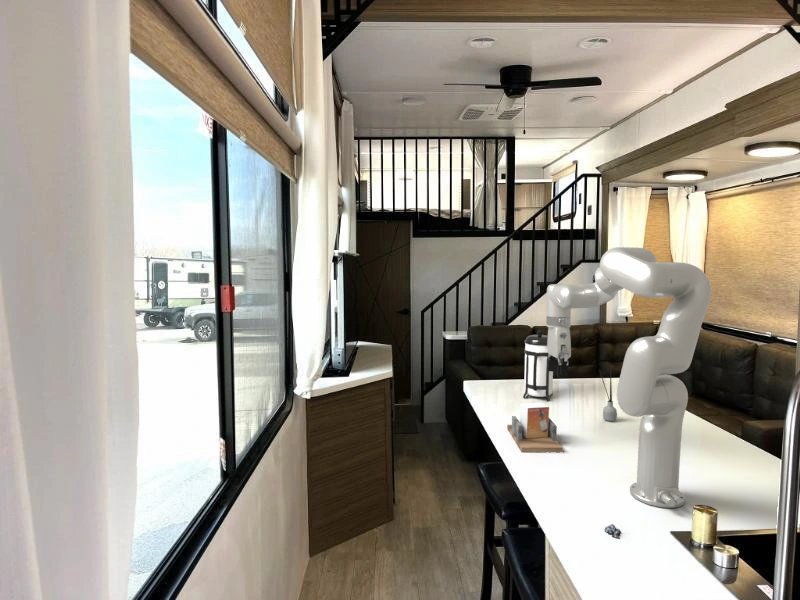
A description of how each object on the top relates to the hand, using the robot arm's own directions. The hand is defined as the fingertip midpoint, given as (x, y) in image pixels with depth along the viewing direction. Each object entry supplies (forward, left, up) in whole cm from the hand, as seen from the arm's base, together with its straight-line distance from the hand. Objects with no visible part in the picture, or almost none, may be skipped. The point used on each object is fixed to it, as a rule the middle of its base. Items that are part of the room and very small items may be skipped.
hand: (557, 374), depth 165 cm
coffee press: (+55, -9, -23) cm, 60 cm away
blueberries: (-55, +3, -24) cm, 60 cm away
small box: (+3, +7, -22) cm, 23 cm away
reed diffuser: (+25, -27, -23) cm, 43 cm away
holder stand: (+3, +7, -23) cm, 24 cm away
